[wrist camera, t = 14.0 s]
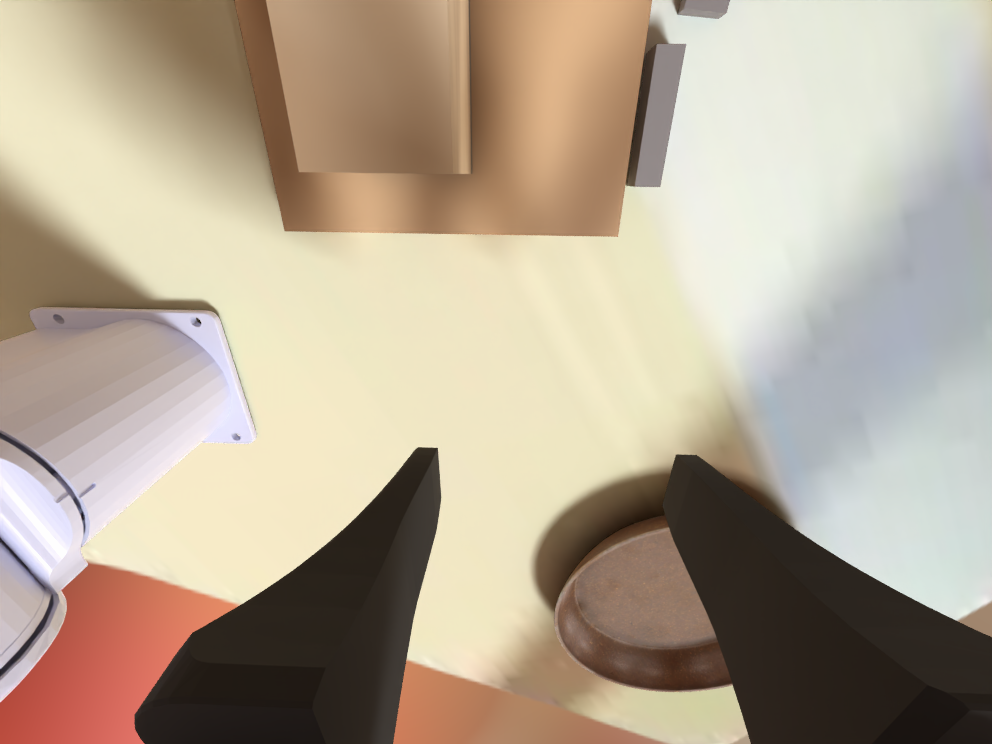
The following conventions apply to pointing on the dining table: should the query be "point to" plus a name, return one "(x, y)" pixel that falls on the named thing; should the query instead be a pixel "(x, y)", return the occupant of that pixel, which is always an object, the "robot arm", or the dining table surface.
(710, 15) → the grey rectangular block
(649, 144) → the small gray block
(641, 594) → the plant saucer
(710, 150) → the dining table surface
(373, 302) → the dining table surface
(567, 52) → the oak board
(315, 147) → the block
